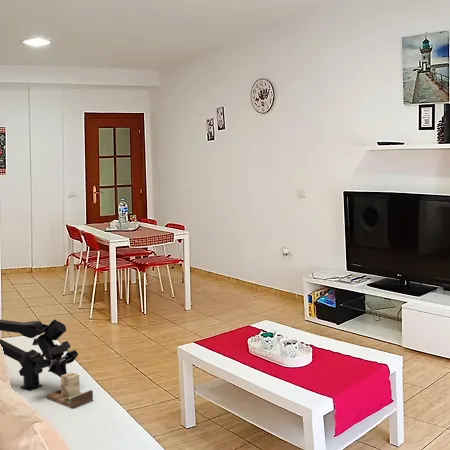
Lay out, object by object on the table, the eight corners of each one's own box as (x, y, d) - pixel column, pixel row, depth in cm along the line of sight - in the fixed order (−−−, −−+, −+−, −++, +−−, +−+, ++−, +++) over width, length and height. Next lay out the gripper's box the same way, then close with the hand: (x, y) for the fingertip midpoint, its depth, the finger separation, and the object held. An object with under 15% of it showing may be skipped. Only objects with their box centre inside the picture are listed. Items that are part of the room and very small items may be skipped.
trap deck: (46, 398, 229) (46, 388, 229) (66, 391, 237) (66, 381, 236) (73, 408, 219) (72, 398, 219) (92, 400, 227) (92, 390, 226)
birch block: (61, 393, 230) (60, 375, 229) (71, 390, 234) (71, 372, 233) (69, 396, 227) (68, 378, 226) (79, 392, 231) (79, 374, 230)
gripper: (36, 341, 226) (55, 374, 220) (74, 330, 241) (93, 361, 235) (25, 357, 231) (43, 390, 226) (63, 346, 246) (81, 376, 241)
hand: (66, 379), depth 232 cm, fingers closed
